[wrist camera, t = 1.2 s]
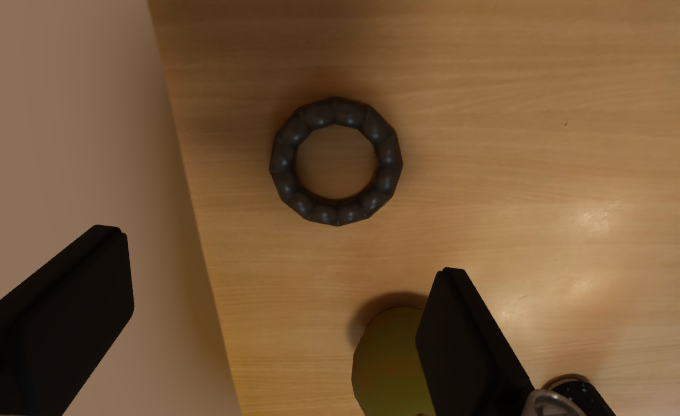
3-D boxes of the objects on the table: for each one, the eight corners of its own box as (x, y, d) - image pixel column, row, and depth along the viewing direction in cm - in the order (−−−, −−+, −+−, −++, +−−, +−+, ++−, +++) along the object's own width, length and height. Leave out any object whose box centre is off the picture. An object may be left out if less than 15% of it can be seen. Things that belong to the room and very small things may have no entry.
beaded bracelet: (284, 81, 24) (281, 85, 23) (416, 115, 26) (422, 120, 24) (263, 205, 28) (259, 215, 27) (378, 228, 30) (381, 239, 28)
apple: (470, 323, 34) (527, 438, 25) (400, 377, 37) (426, 499, 28) (398, 269, 31) (430, 376, 22) (328, 332, 34) (328, 451, 25)
